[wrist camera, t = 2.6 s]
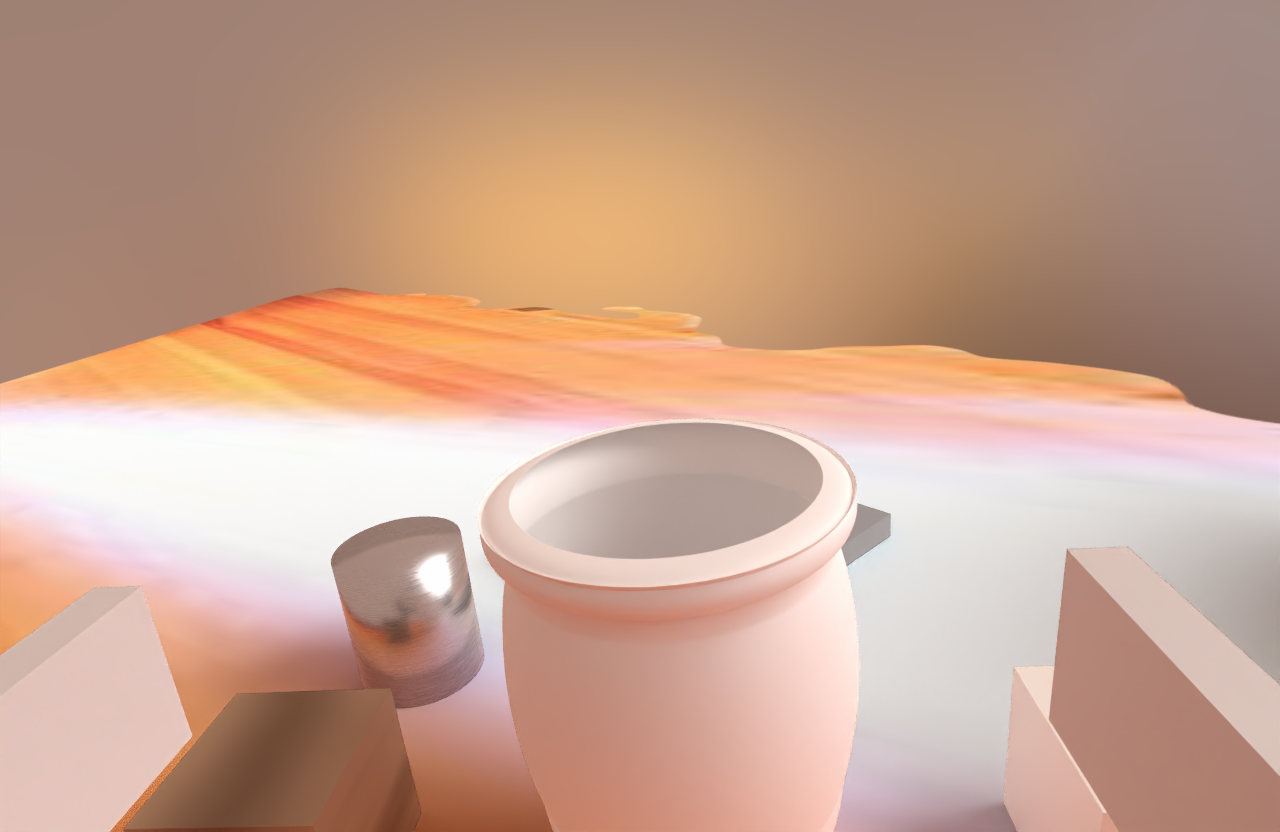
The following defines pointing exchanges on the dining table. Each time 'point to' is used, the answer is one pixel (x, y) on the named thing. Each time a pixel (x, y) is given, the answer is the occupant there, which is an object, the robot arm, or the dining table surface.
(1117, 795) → the robot arm
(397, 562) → the metal tin
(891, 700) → the dining table surface
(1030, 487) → the dining table surface
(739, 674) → the jar
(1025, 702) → the offwhite block
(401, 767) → the walnut block
